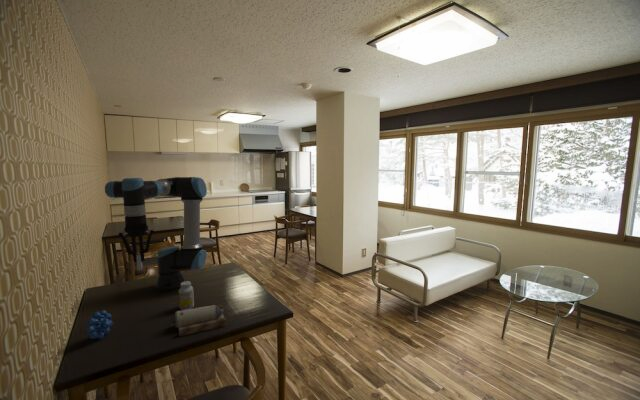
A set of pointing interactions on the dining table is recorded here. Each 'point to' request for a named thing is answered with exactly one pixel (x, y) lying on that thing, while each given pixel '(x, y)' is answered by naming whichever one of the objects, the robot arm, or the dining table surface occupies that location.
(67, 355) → the dining table surface
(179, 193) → the robot arm
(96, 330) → the grapes
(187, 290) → the supplement bottle
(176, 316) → the aerosol can
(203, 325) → the cradle
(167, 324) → the dining table surface
